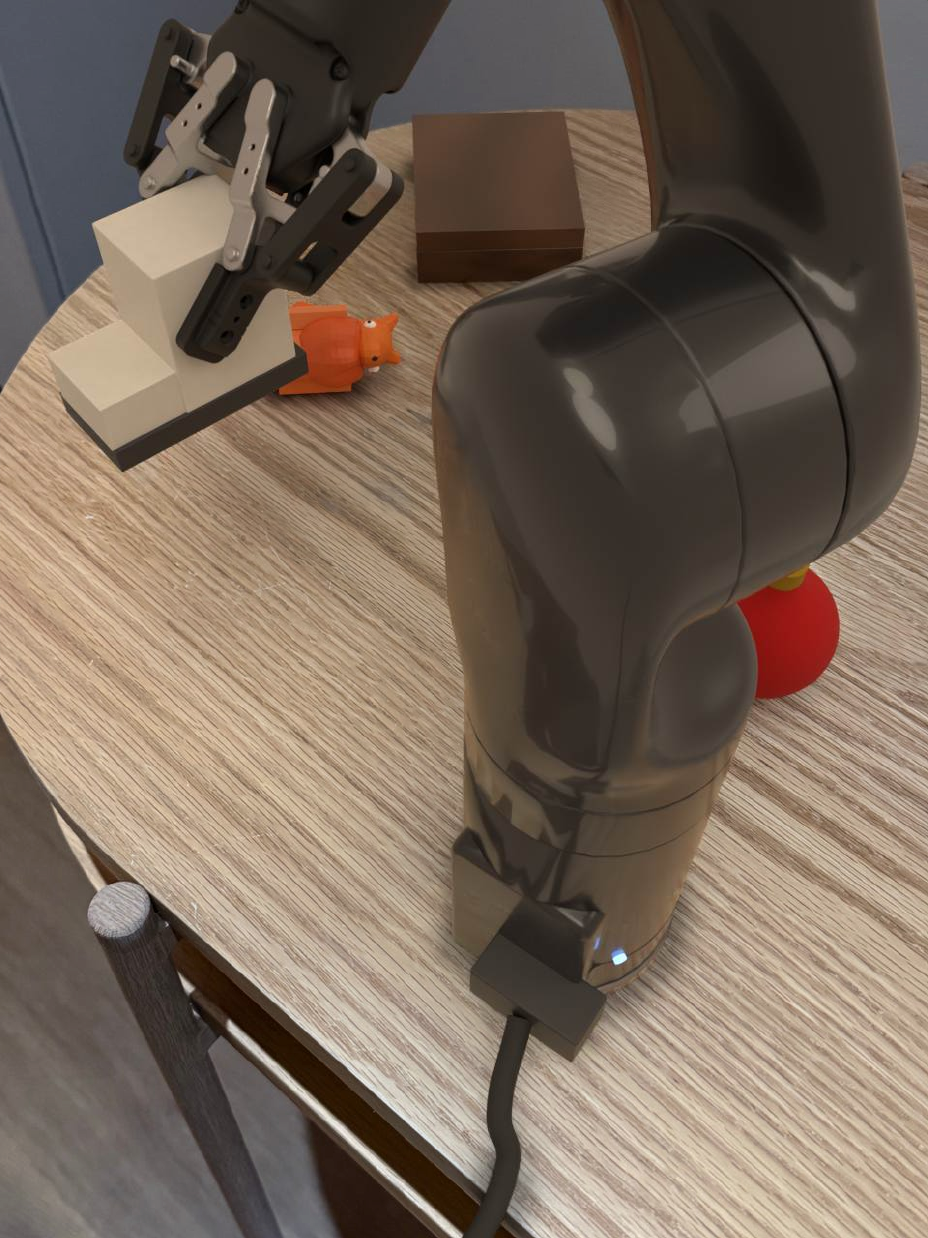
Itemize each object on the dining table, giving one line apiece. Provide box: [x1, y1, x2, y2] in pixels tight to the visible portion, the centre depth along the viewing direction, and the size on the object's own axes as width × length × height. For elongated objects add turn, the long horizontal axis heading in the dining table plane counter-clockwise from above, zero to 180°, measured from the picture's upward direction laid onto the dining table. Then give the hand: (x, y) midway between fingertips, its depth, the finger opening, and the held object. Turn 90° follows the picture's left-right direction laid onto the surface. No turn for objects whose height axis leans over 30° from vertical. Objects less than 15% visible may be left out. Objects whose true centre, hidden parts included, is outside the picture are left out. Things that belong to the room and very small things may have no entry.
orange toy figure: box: [278, 300, 402, 396], centre depth 70 cm, size 5×8×12 cm
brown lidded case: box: [411, 110, 586, 284], centre depth 80 cm, size 11×14×4 cm
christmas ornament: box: [737, 563, 841, 700], centre depth 55 cm, size 7×7×10 cm
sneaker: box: [46, 174, 309, 473], centre depth 48 cm, size 10×5×8 cm, turn 130°
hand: (162, 320), depth 47 cm, fingers closed on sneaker, 4 cm apart
